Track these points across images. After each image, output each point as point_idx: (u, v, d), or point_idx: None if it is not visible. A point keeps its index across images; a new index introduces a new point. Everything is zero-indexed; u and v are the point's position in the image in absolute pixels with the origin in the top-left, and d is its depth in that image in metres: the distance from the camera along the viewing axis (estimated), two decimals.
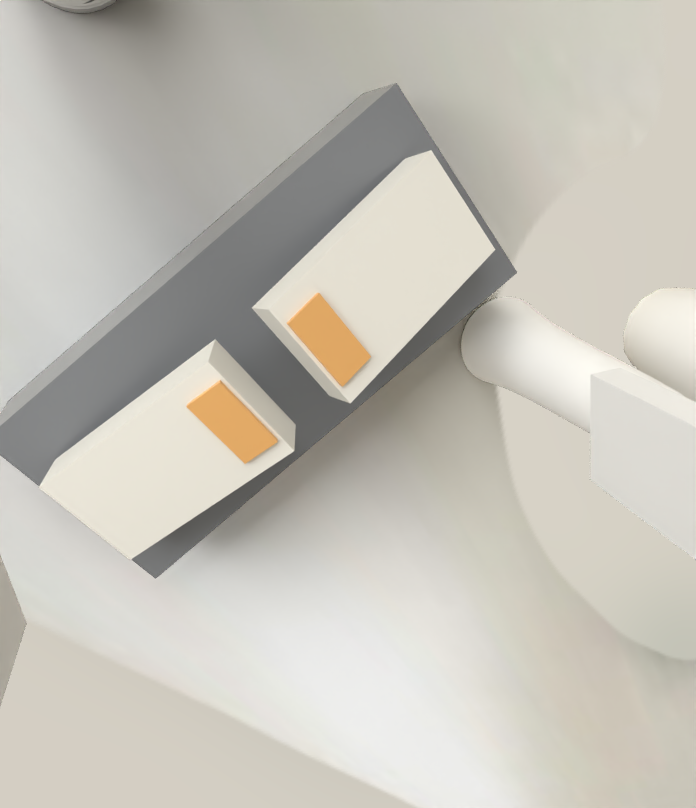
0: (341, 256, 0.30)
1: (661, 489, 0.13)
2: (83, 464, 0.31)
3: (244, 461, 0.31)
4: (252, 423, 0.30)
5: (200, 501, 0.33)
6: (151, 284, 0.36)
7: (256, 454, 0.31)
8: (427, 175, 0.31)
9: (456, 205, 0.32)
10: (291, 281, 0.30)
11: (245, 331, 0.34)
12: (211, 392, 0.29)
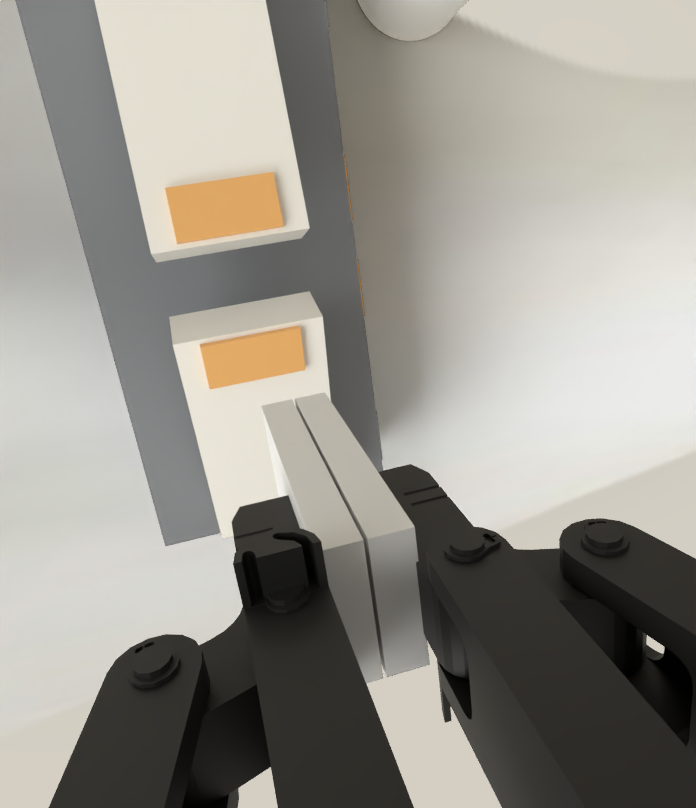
0: (141, 135, 0.24)
1: None
2: (220, 497, 0.31)
3: (302, 369, 0.28)
4: (264, 340, 0.26)
5: None
6: None
7: (302, 354, 0.27)
8: None
9: None
10: None
11: (196, 274, 0.30)
12: (207, 360, 0.26)
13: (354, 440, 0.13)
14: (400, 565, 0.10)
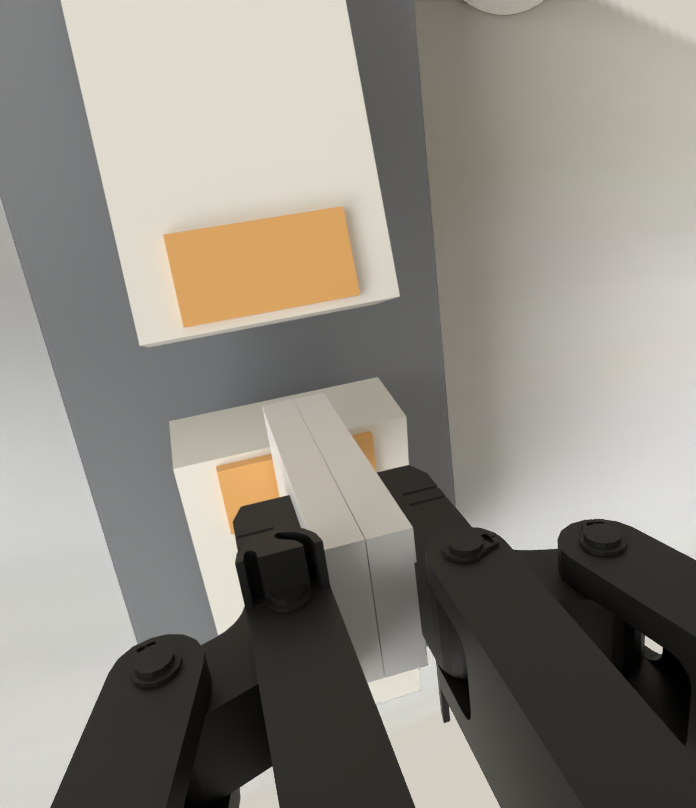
0: (123, 145, 0.14)
1: None
2: None
3: None
4: None
5: None
6: None
7: None
8: None
9: None
10: None
11: (208, 351, 0.20)
12: (227, 490, 0.16)
13: (352, 441, 0.13)
14: (398, 566, 0.10)
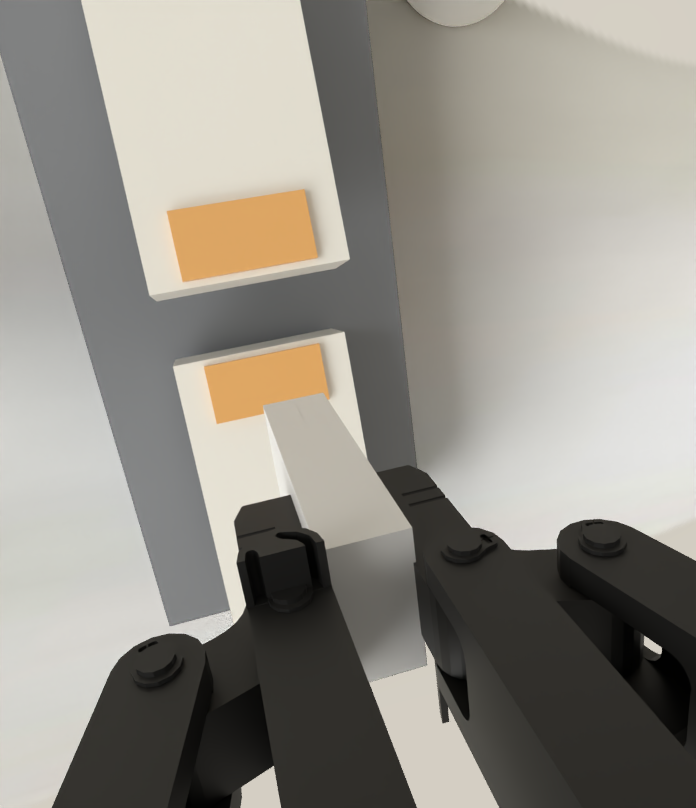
0: (136, 143, 0.19)
1: None
2: (236, 587, 0.24)
3: None
4: (278, 359, 0.23)
5: None
6: None
7: (324, 378, 0.23)
8: None
9: None
10: None
11: (205, 310, 0.25)
12: (212, 383, 0.22)
13: (352, 440, 0.13)
14: (398, 566, 0.10)
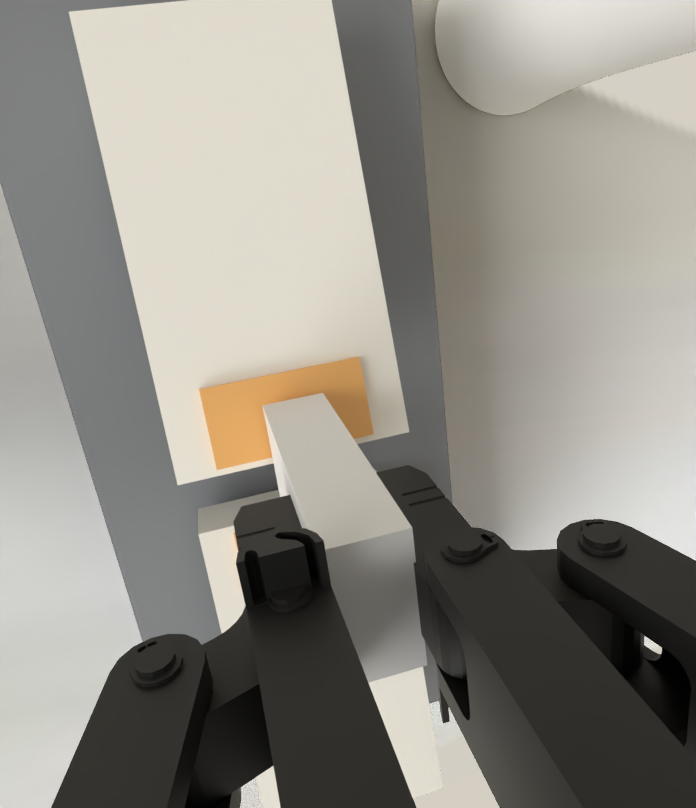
0: (163, 310, 0.16)
1: None
2: (267, 772, 0.21)
3: None
4: None
5: None
6: None
7: None
8: (112, 49, 0.15)
9: (200, 21, 0.15)
10: None
11: None
12: None
13: (352, 441, 0.13)
14: (398, 566, 0.10)
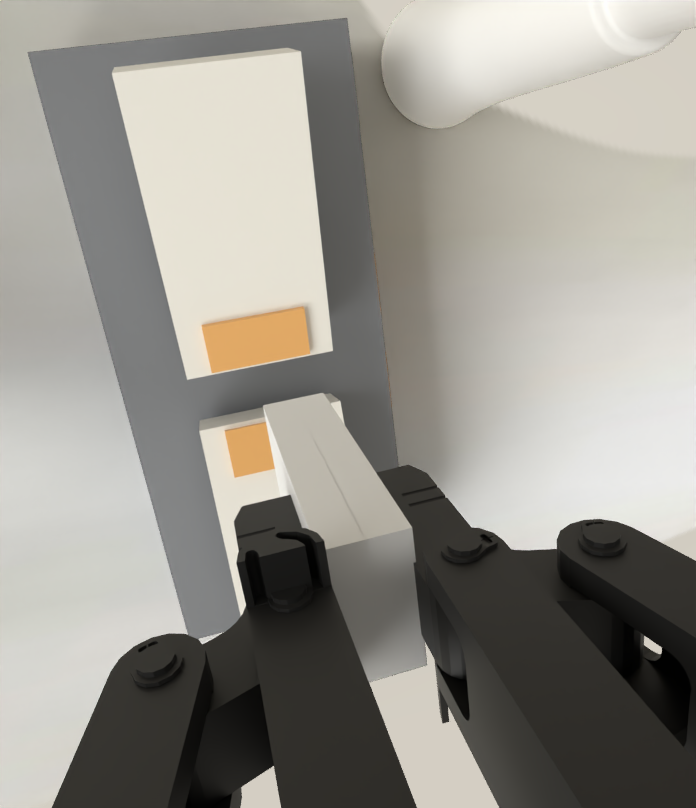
0: (179, 277, 0.24)
1: None
2: None
3: None
4: None
5: None
6: None
7: None
8: (143, 101, 0.21)
9: (206, 79, 0.21)
10: None
11: (224, 378, 0.30)
12: (231, 445, 0.27)
13: (352, 440, 0.13)
14: (398, 566, 0.10)
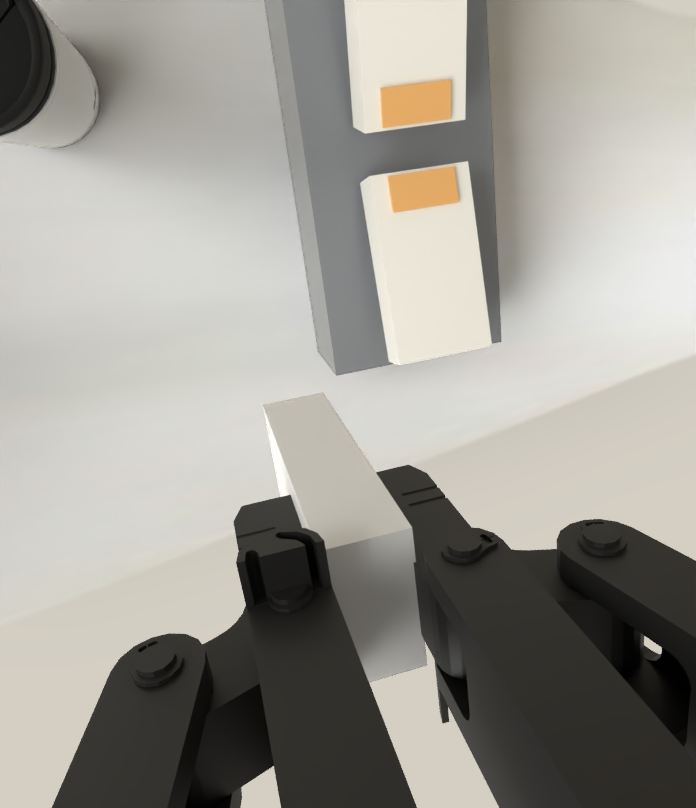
0: (370, 47, 0.35)
1: None
2: (399, 319, 0.39)
3: (456, 200, 0.39)
4: (430, 174, 0.38)
5: (472, 258, 0.40)
6: (302, 201, 0.43)
7: (456, 188, 0.38)
8: None
9: None
10: (358, 96, 0.36)
11: (377, 153, 0.40)
12: (392, 187, 0.38)
13: (352, 440, 0.13)
14: (397, 566, 0.10)
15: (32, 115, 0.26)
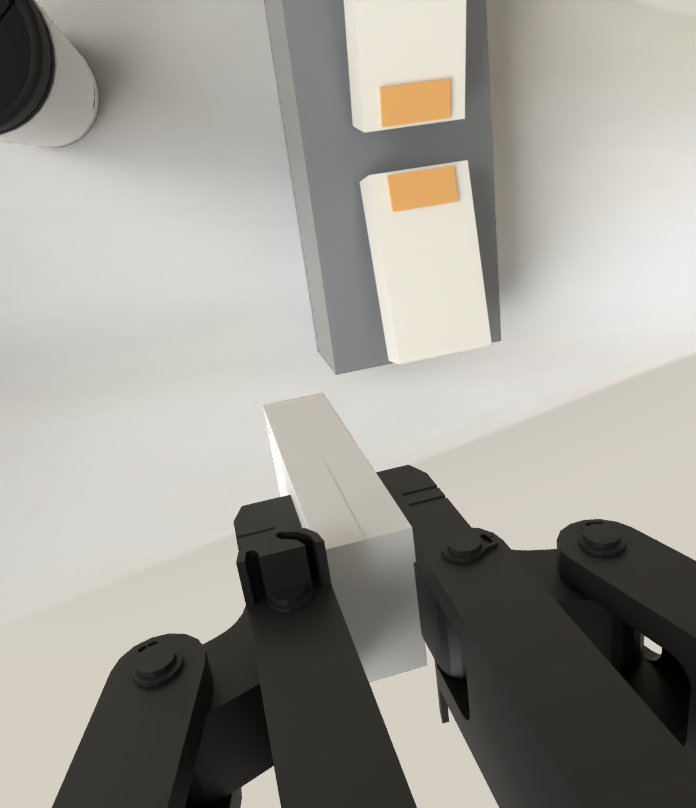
0: (369, 46, 0.35)
1: None
2: (398, 318, 0.39)
3: (456, 199, 0.39)
4: (429, 173, 0.38)
5: (471, 257, 0.40)
6: (301, 200, 0.43)
7: (455, 187, 0.38)
8: None
9: None
10: (358, 95, 0.36)
11: (376, 152, 0.40)
12: (391, 186, 0.38)
13: (352, 440, 0.13)
14: (397, 566, 0.10)
15: (32, 114, 0.26)
